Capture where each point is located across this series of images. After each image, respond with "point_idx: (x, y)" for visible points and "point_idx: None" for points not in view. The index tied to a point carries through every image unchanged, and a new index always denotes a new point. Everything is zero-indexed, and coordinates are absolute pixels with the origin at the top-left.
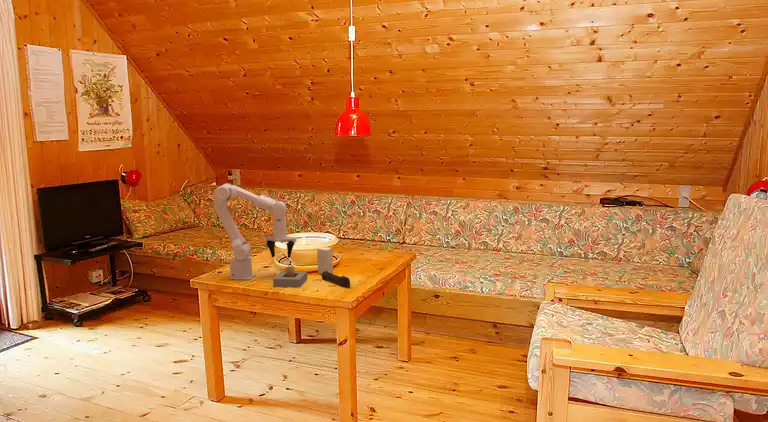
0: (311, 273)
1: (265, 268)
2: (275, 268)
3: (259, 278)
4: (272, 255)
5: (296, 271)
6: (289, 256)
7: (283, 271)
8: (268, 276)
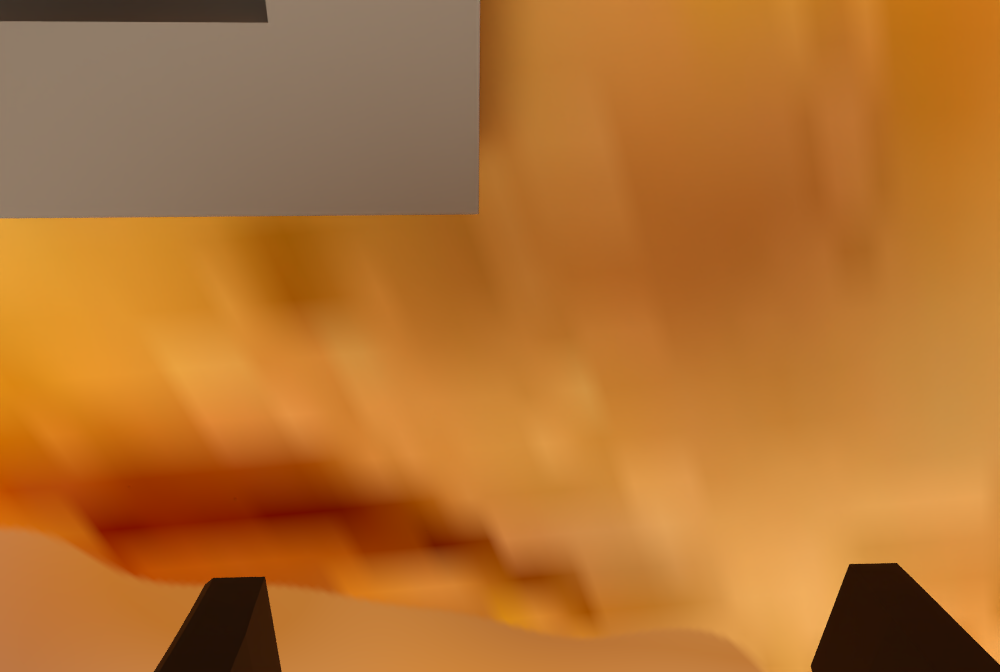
0: (5, 483)
1: None
2: (746, 629)
3: (993, 93)
4: (911, 612)
5: (27, 207)
6: (190, 626)
7: (410, 178)
8: (805, 245)
